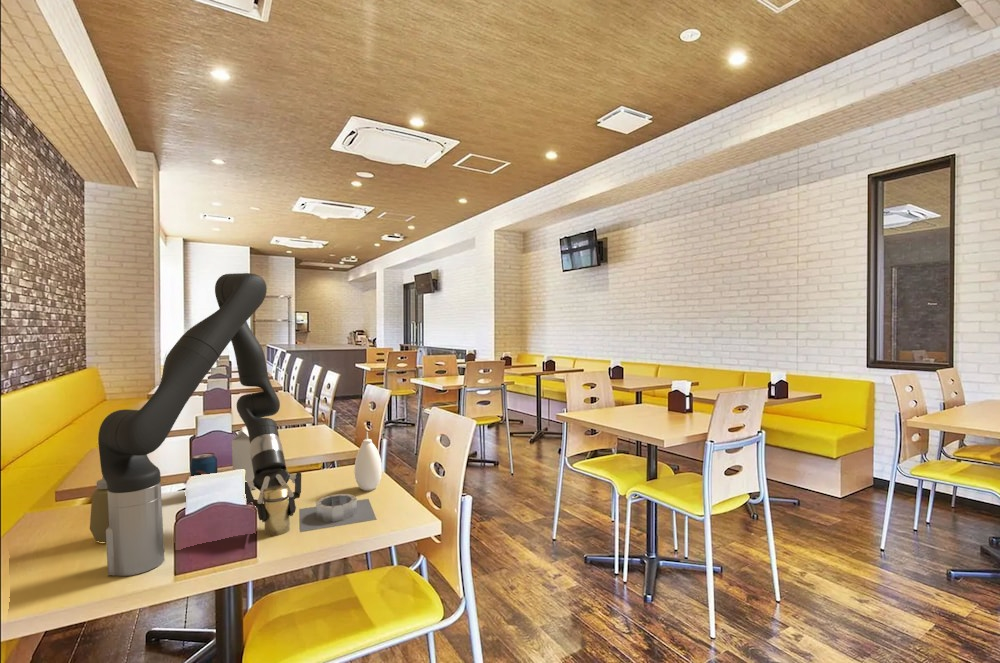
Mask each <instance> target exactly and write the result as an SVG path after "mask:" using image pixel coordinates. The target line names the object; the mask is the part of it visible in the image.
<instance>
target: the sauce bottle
mask: <svg viewBox="0 0 1000 663" xmlns="http://www.w3.org/2000/svg"><path fill="white" fill-rule="evenodd" d="M368 433H369V432H368V431H366V434H365V435H366V438H365V439H363V440H362V443H361V445H360V447H359V448H358V452H357V454H356V457H355V462H354V479H355V482H356V484H357V485H358V487H359V489H361V490H363V491H365V492H367V491H373V490H375V489H376V488H377V487H378V486H379V485H380V482H381V479H382V475H383V474H382V473H383V464H382V459H381V455H380V453H379V450H378V449H377V447H376V445H375V444H374V443H373V440H372V439H371V438H369V434H368Z"/></svg>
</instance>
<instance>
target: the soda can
mask: <svg viewBox="0 0 1000 663" xmlns="http://www.w3.org/2000/svg"><path fill="white" fill-rule="evenodd" d="M189 468H190V470H189V471H190V472H189V473H190V477H191V476H194V475H201V474H210V473H217V472H218V459H217V457H216V455H215V453H214V452H203V453H202V452H201V453H197V454H194V455H192V458H191V460H190V463H189ZM218 473H219V472H218Z"/></svg>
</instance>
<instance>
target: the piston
mask: <svg viewBox="0 0 1000 663" xmlns="http://www.w3.org/2000/svg"><path fill="white" fill-rule="evenodd" d="M288 486H289V485H288ZM288 486H285V485H277V486H272V487H268V488H266V489H264V490H263V501H264V502H263V504H264V506H265V512H266V522H264V535H265V536H268V537H276V536H281V535H284V534H287V533H288V532H290V530H291V527H290V525H291V524H290V515H289V492H288Z"/></svg>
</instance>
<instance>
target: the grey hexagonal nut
mask: <svg viewBox="0 0 1000 663" xmlns="http://www.w3.org/2000/svg"><path fill="white" fill-rule="evenodd" d="M315 507H316V515H317V519H318V520H320V521H323V522H336V521H342V520H346V519H348V518H351V517H353V516H354V515H355V514H356V513H357V496H356V495H353V494H349V493H338V494H330V495H327V496H324V497H321V498H320V499H318V500H317V501H316V502H315Z"/></svg>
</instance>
